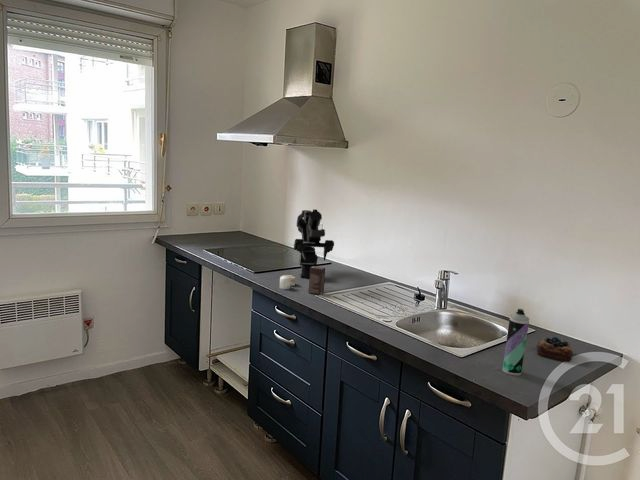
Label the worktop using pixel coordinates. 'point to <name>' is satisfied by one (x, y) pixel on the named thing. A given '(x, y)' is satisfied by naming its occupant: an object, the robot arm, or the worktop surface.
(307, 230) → the robot arm
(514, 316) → the spray can
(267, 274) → the worktop surface
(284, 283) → the plastic cylinder
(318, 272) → the box
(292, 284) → the birch block
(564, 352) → the pastry
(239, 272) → the worktop surface
